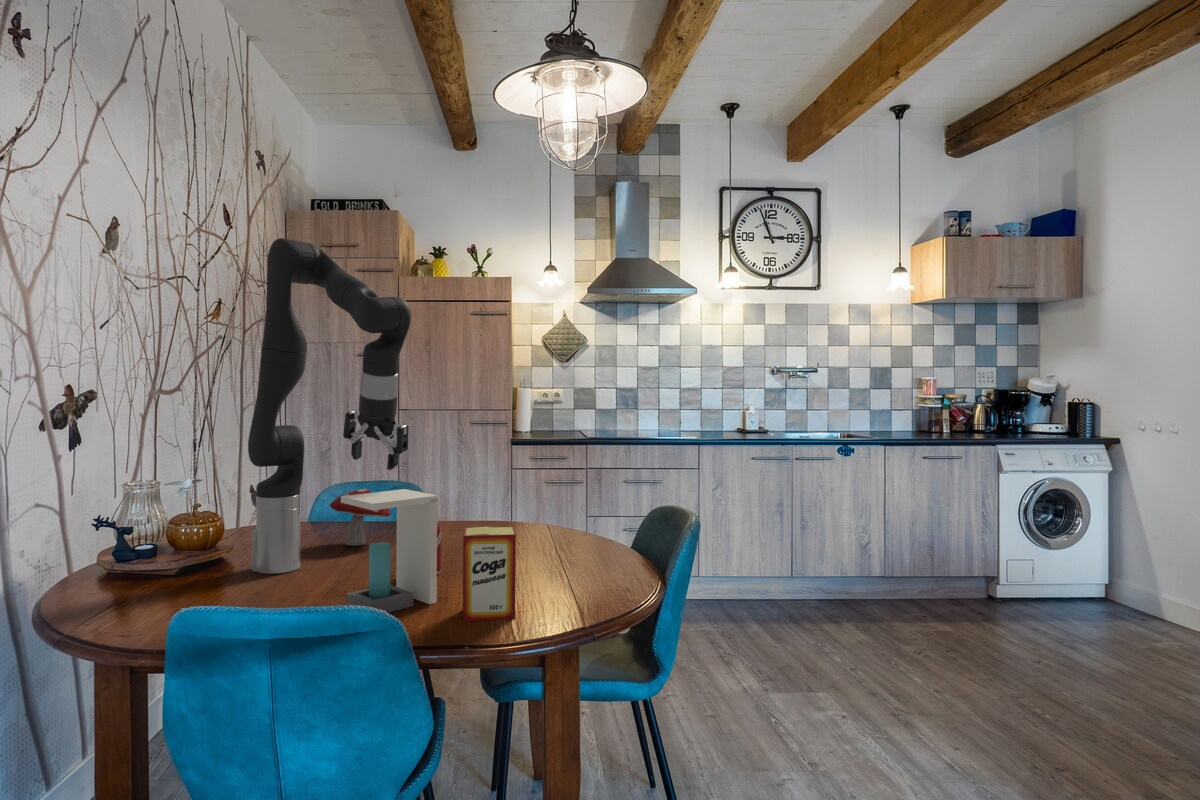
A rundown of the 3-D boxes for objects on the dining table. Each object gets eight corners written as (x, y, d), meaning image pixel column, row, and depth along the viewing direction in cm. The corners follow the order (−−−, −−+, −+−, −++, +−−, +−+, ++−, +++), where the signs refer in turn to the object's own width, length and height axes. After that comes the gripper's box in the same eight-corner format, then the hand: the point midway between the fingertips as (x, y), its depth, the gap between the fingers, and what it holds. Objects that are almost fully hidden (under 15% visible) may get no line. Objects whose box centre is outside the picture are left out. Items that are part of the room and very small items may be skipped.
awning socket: (372, 619, 127) (373, 503, 126) (340, 605, 135) (340, 496, 134) (437, 602, 137) (438, 495, 137) (403, 590, 145) (404, 489, 145)
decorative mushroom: (346, 537, 194) (346, 484, 194) (400, 539, 193) (401, 485, 192) (317, 550, 179) (317, 492, 178) (376, 553, 177) (376, 494, 177)
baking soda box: (513, 607, 134) (514, 525, 134) (515, 618, 128) (515, 532, 128) (463, 609, 133) (464, 526, 133) (462, 621, 126) (463, 533, 126)
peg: (365, 609, 133) (365, 546, 132) (374, 602, 137) (374, 542, 136) (385, 610, 132) (385, 547, 132) (393, 603, 136) (394, 542, 136)
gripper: (418, 396, 146) (412, 466, 151) (360, 380, 149) (356, 449, 154) (398, 405, 139) (392, 478, 144) (337, 388, 142) (334, 460, 147)
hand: (374, 463), depth 149 cm, fingers open, 8 cm apart
